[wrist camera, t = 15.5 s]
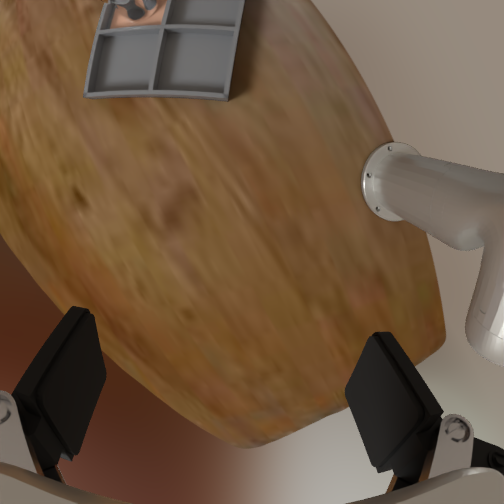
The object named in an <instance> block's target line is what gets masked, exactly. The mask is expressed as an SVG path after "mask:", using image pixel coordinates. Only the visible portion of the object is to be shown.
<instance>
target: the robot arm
mask: <svg viewBox="0 0 504 504" xmlns="http://www.w3.org/2000/svg"><path fill="white" fill-rule="evenodd" d="M367 173H368V175H367ZM361 186H362V193H363V196H364V199H365V201H366V203H367V205H368V206H369V208H370V209H371V210H372V211H373V212H374V213H375V214H376V215H378V216H379V217H381V218H383V219H385V220H389V221H401V220H406V221H408V222H410V223H411V224H413V225H415V226H417V227H418V228H420V229H422V230H423V231H425V232H427V233H429V234H430V235H432V236H433V237H435V238H437V239H438V240H440V241H441V242H443V243H445V244H446V245H448V246H450V247H452V248H454V249H457V250H461V251H470V250H475V249H478V248H480V247H483V246H484V249H483V255H482V261H481V267H480V271H479V275H478V279H477V283H476V286H475V290H474V293H473V296H472V300H471V303H470V307H469V310H468V314H467V317H466V323H465V333H466V337H467V340H468V342H469V344H470V345H471V347H472V348H473V349H474V350H475V351H476V352H477V353H478V354H479V355H480V356H482V357H483V358H485V359H486V360H488V361H490V362H493V363H495V364H497V365H500V366H503V367H504V174H503V173H496V172H492V171H486V170H482V169H478V168H474V167H470V166H465V165H460V164H456V163H452V162H447V161H442V160H438V159H433V158H428V157H423V156H421V155H420V154H419V153H418V152H417V150H415V149H414V148H413V147H412V146H410V145H408V144H405V143H401V142H389V143H385V144H383V145H381V146H379V147H378V148H376V149H375V150H374V151H373V152H372V153H371V154H370V156H369V157H368V159H367V160H366V163H365V165H364V167H363V172H362V178H361ZM376 207H377V208H376ZM105 380H106V368H105V365H104V360H103V356H102V352H101V347H100V343H99V338H98V333H97V328H96V323H95V317H94V315H93V314H90V311H89V309H87V308H81V307H76V306H72V307H71V308H70V309H69V311H68V312H67V313H66V314H65V316H64V317H63V318H62V320H61V321H60V323H59V324H58V325H57V327H56V328H55V329H54V331H53V332H52V334H51V335H50V336H49V338H48V339H47V340H46V342H45V343H44V345H43V346H42V348H41V349H40V350H39V352H38V353H37V355H36V356H35V358H34V359H33V361H32V363H31V364H30V365H29V367H28V369H27V370H26V372H25V373H24V375H23V376H22V378H21V380H20V381H19V383H18V384H17V386H16V388H15V390H14V391H13V393H12V395H10V394H9V393H7V392H5V391H1V390H0V504H132V503H127V502H123V501H119V500H115V499H111V498H108V497H104V496H100V495H97V494H93V493H90V492H86V491H83V490H80V489H77V488H74V487H72V486H69V485H66V482H65V480H64V478H63V476H62V474H61V472H60V470H59V468H58V465H57V464H58V461H59V458H60V457H61V458H63V459H66V460H69V461H72V459H73V456H74V455H78V453H79V451H80V448H81V446H82V443H83V439H84V437H85V434H86V431H87V428H88V425H89V422H90V420H91V417H92V414H93V411H94V409H95V406H96V403H97V401H98V398H99V396H100V393H101V390H102V388H103V385H104V383H105ZM345 396H346V399H347V402H348V404H349V407H350V409H351V412H352V414H353V417H354V419H355V422H356V425H357V427H358V430H359V432H360V435H361V438H362V440H363V443H364V446H365V448H366V451H367V454H368V456H369V459H370V462H371V464H372V466H374V467H376V469H377V472H378V473H381V472H385V471H388V470H391V469H393V472H394V475H393V477H392V480H391V482H390V485H389V487H388V489H387V492H386V493H385V494H382V495H379V496H375V497H371V498H368V499H364V500H360V501H355V502H351V503H347V504H504V450H503V449H502V448H500V447H498V446H495V445H493V444H490V443H487V442H485V441H482V440H480V439H477V438H474V432H473V428H472V425H471V424H470V422H469V421H468V420H467V419H465V418H464V417H462V416H460V415H457V414H449V415H447V416H445V417H444V418H443V419H442V418H441V415H442V413H443V412H444V411H443V410H442V408H441V406H440V405H439V403H438V402H437V400H436V399H435V397H434V395H433V394H432V392H431V391H430V389H429V388H428V386H427V384H426V383H425V381H424V380H423V379H422V377H421V375H420V374H419V372H418V371H417V370H416V368H415V366H414V365H413V363H412V362H411V361H410V359H409V358H408V356H407V355H406V353H405V352H404V350H403V349H402V348H401V346H400V345H399V343H398V342H397V340H396V339H395V338H394V336H393V335H392V334H391V333H390V332H375V333H374V334H373V335H372V336H370V337H369V338H368V340H367V342H366V345H365V347H364V349H363V351H362V354H361V356H360V358H359V360H358V362H357V365H356V367H355V369H354V371H353V373H352V375H351V377H350V379H349V381H348V383H347V385H346V388H345Z"/></svg>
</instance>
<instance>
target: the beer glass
mask: <svg viewBox="0 0 504 504" xmlns="http://www.w3.org/2000/svg"><path fill="white" fill-rule="evenodd" d="M101 1H103V2H105V3H107V4H109V5H111V6H113V7H115V8H117V9H118V11H119V13H120V15H121V17H122V18H123V19H124V20H125V21H128V22H140V21H143V20H145V19H147V18H149V17H150V16H151V15H153V14H154V13H155V12H156V10H157V9H158V7H159V4H160V0H101Z"/></svg>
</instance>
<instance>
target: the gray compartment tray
mask: <svg viewBox="0 0 504 504" xmlns="http://www.w3.org/2000/svg"><path fill="white" fill-rule="evenodd" d="M244 5H245V0H160V4H159V7H158V9H157V10H156V12H155V13H154V14H153V15H151V16H150V17H149V18H147V19H145V20H143V21H140V22H128V21H125V20H124V19H123V18H122V17H121V15H120V13H119V11H118V9H117V8H115V7H113V6H111V5H109V4H107V3H104V6H103V9H102V12H101V16H100V19H99V23H98V26H97V30H96V34H95V38H94V42H93V46H92V51H91V55H90V60H89V65H88V70H87V76H86V81H85V88H84V94H83V97H84V98H89V99H102V98H125V97H168V98H191V99H206V100H218V101H228V98H229V92H230V85H231V79H232V72H233V66H234V60H235V54H236V48H237V42H238V37H239V31H240V26H241V20H242V15H243V10H244Z"/></svg>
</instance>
